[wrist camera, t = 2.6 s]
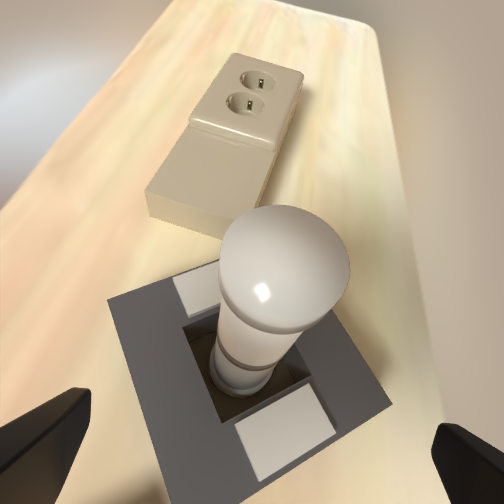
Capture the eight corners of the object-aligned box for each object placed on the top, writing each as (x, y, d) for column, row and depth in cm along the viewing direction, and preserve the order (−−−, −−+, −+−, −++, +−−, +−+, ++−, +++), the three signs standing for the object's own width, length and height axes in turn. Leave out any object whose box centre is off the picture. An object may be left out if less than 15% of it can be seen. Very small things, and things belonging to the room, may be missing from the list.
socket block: (367, 411, 19) (396, 402, 16) (185, 526, 16) (182, 541, 13) (275, 259, 24) (285, 231, 21) (118, 319, 20) (105, 296, 17)
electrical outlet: (142, 180, 21) (232, 49, 31) (150, 219, 25) (229, 90, 34) (248, 214, 21) (306, 71, 31) (242, 249, 24) (295, 110, 34)
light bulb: (281, 379, 20) (375, 286, 9) (225, 409, 18) (258, 342, 8) (253, 325, 21) (306, 191, 11) (199, 350, 20) (199, 226, 9)
